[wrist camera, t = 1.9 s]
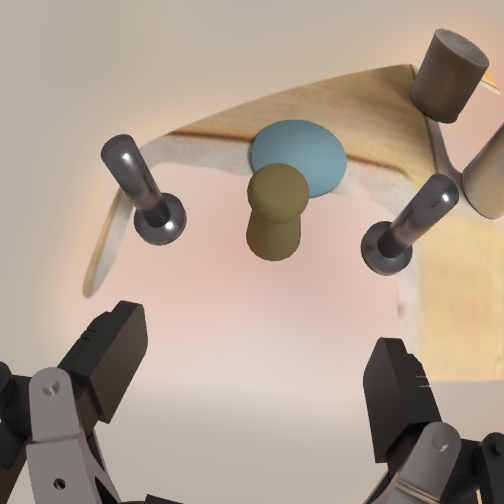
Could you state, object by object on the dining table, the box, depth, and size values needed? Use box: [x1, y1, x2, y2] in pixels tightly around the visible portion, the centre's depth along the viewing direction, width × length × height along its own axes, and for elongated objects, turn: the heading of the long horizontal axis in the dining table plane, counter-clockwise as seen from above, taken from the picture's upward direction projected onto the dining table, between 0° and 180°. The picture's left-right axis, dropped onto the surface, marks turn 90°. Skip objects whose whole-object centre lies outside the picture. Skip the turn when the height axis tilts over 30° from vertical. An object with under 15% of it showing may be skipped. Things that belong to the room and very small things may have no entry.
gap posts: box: [101, 134, 459, 276], centre depth 28 cm, size 32×6×14 cm, turn 82°
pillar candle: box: [410, 29, 489, 124], centre depth 36 cm, size 10×10×15 cm
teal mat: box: [251, 120, 347, 198], centre depth 38 cm, size 12×12×1 cm
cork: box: [246, 163, 309, 261], centre depth 30 cm, size 6×6×11 cm
